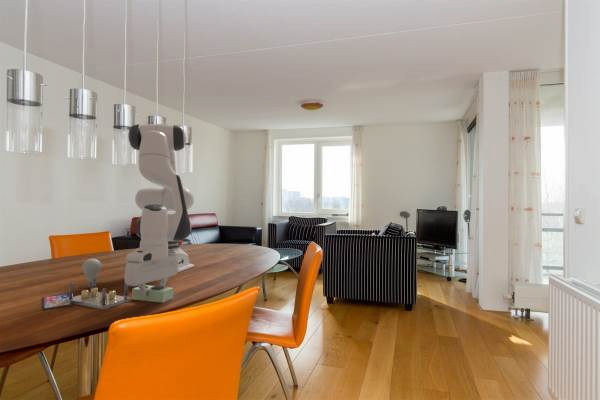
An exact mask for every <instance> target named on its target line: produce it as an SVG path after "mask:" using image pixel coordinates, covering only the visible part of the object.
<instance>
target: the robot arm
mask: <svg viewBox="0 0 600 400" xmlns="http://www.w3.org/2000/svg"><path fill="white" fill-rule="evenodd" d="M127 138H128V143H129V145H130V147H131V148H133V149H134V150H136V151H138V169H139V173H140V175H141V176H142V177H143V178H144V179H145V180H147V181H148V182H150V183H152V184H155V185H158V186H161V187H153V186H151V187H145V188H140V189H138V190H137V192H136V194H135V197H134V199H135V204H136V206H137V207H138V208H139V209H140V210H141V215H140V217H138V218H137V219H136V233H135V234H136V236H138V237H139V238H140V242H139V247H138V248H136V249H135V250H134V251H131V252H129V253H127V254H126V255H125V256H126V257H125V258H126V259H125V260H126V261H127V263H126V265H125V268H124V284H125V283H126V285H128V287H139V289H140V291H141V296H142V297H145V296H148V290H146V289H145V286H146V285H147V284H148V283H151V282H155V281H159V280H160V283H159V285H158V286H163V287H166V284H167V282H168V278H170V277H174V276H176V275H177V274H178V273H181V272H184V271H186V270H188V269H191V268H193V267H195V264H193V263H190V258H189V255H188V253H187V252H185V251H184V250H182V248H180V245H181V246H182V245H183V244H184V241H185V240H186V239H187V238H189V236H190V235H191V232H192V223H191V219H190V217H189V213H188V210H190V209H191V208H192V207H193V205H194V201H195V199H194V198H195V197H194V194H193V193H192V191H191V190H190V189H188V188H187V187H186V186H184V184H183V183H182V180H181V177H180V174H179V173H177V172H178V171H177V167H176V165H177V164H176V155H175V152H176V151H177V152H178V151H182V150H183V149H184V148H185V146H186V144H187V135H186V132H185V129H184V128H183V127H182V126H180V125H177V124H174V125H172V124H165V123H164V124H163V123H162V124H161V123H157V124H156V123H150V124H149V123H148V124H141V123H139V124H132V126H130V128H129V131H128V133H127ZM168 212H174V213H168Z"/></svg>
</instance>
